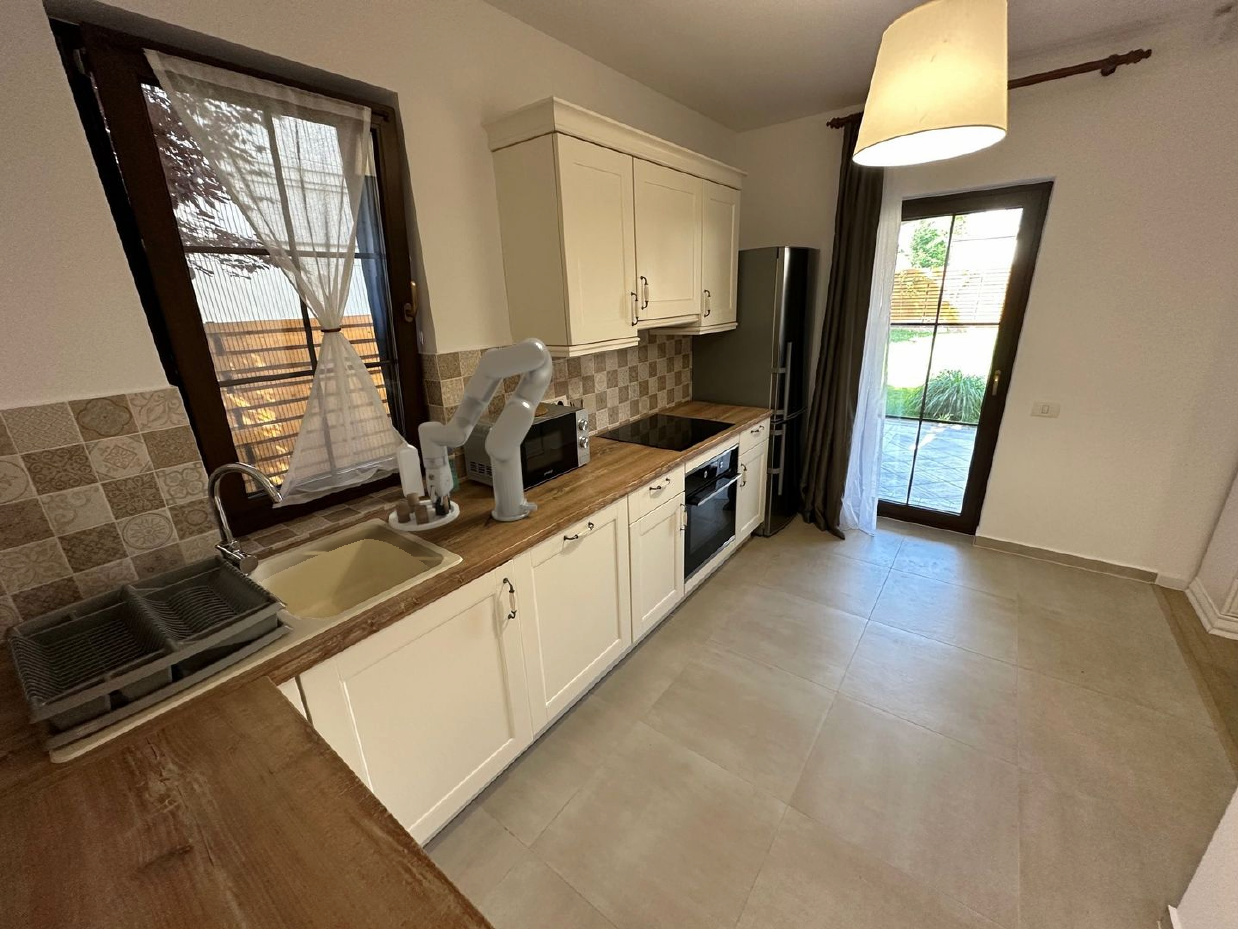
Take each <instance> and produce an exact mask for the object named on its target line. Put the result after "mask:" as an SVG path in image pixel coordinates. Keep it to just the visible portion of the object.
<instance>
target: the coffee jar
mask: <svg viewBox="0 0 1238 929" xmlns="http://www.w3.org/2000/svg"><path fill="white" fill-rule="evenodd" d="M446 447H447V454H448V461H449V466H450V469H451V474H452V479H453V488H452V489H451V490H450V491H449V494H451V493H455V492H458V491H459V490H460V485H459V478H458V474H457V468H456V461H455V458H456V457H455V454H456V453H455V451H454V447H449V446H446Z"/></svg>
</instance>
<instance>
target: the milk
mask: <svg viewBox="0 0 1238 929" xmlns="http://www.w3.org/2000/svg"><path fill="white" fill-rule="evenodd" d="M395 453H396V457H397V458H396V459H397V464H398V470H399V476H400V481H401V487H402V492H403V495H404V497H405V498H406V495H407V494H409V493H418V496H419V498H420V497H424V496H425V490H424V484H423V478H422V477H423V476H422V472H421V471H422V470H421V466H420V458H419V454H418V453H419V452H418V449H417V448H416V447H415V446H413V445H411V444H408V442H407V441H406V440H405V439H403V438H402V443H401V444H400V445H399V446H398V447H396V448H395Z"/></svg>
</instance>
